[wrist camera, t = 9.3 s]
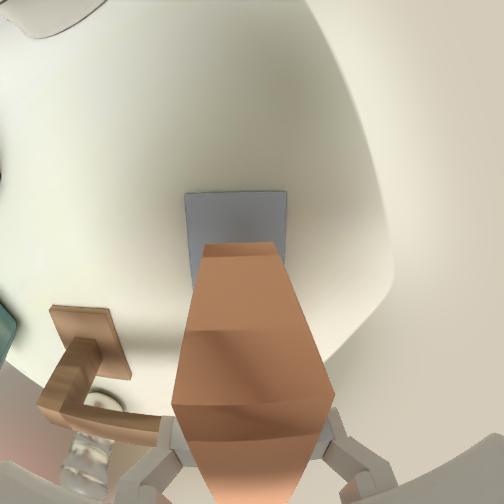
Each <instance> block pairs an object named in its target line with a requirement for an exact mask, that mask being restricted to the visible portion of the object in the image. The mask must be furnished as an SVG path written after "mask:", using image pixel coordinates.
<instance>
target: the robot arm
mask: <svg viewBox="0 0 504 504" xmlns="http://www.w3.org/2000/svg"><path fill="white" fill-rule="evenodd" d="M104 1H105V0H0V14H1V15H2V16H4V17H6V18H7V20H8V21H10V22H12V23H14V24H15V25H16V26H17V27H19V28H20V29H21V30H22V32H23V33H24V34H25V35H26V36H28V37H30V38H35V39H39V38H45V37H49V36H52V35H54V34H57V33H59V32H61V31H63V30H65V29H67V28H69V27H70V26H72V25H74V24H75V23H77V22H78V21H80V20H81V19H83V18H84V17H85V16H87V15H88V14H89V13H91V12H92V11H93V10H95V9H96V8H97V7H98V6H99V5H100V4H102V3H103V2H104ZM321 458H322V459H323V461H325V462H326V463H327V464H328V465H329V466H330V467H331V468H332V469H333V470H334V471H335V472H337V473H338V474H339V475H340V476H341V477H342V478H343V479H344V480H346V481H347V482H348V484H347V485H346V486H345V487H344V488H343V489H342V490H341V491H340V492H339V495H340V499H341V503H342V504H504V436H503V435H500V434H497V433H492V434H490V435H488V436H487V437H485V438H484V439H483V440H481V441H480V442H478V443H477V444H475V445H474V446H472V447H471V448H470V449H468V450H466V451H465V452H463V453H462V454H460V455H458V456H457V457H455V458H453V459H452V460H450V461H448V462H447V463H445V464H443V465H441V466H440V467H438V468H436V469H434V470H432V471H430V472H428V473H426V474H424V475H422V476H420V477H418V478H416V479H414V480H411V481H409V482H407V483H405V484H402V485H400V486H398V484H397V481H396V479H395V476H394V474H393V471H392V468H391V466H390V464H389V462H387V461H386V460H384V459H383V458H381V457H380V456H378V455H377V454H375V453H374V452H372V451H371V450H369V449H368V448H366V447H365V446H363V445H362V444H361V443H359V442H358V441H356V440H355V439H354V438H352V437H351V436H350V437H347V434H346V431H345V429H344V426H343V423H342V420H341V418H340V415H339V412H338V409H337V408H336V407H331V408H330V411H329V413H328V416H327V419H326V421H325V424H324V426H323V429H322V431H321V434H320V436H319V439H318V441H317V444H316V446H315V448H314V451H313V453H312V455H311V457H310V460H314V459H321ZM182 466H188V467H198V466H197V464H196V462H195V460H194V458H193V456H192V453H191V451H190V449H189V447H188V445H187V442H186V440H185V438H184V435H183V433H182V430H181V428H180V426H179V423H178V421H177V418H176V417H175V416H162V418H161V421H160V427H159V432H158V438H157V444H156V448H152V449H150V450H149V451H148V453H146V454H145V455H144V456H143V457H142V458H141V459H140V460H139V461H138V462H137V463H136V464H135V465H134V466H132V467H131V468H130V469H129V470H128V471H127V472H126V473H125V474H124V475H123V476H121V477H120V478H119V481H118V486H117V492H116V496H115V502H114V504H172V503H171V502H170V501H169V500H168V499H167V498H166V497H165V496H164V495H162V492H163V491H164V490H165V489H166V488H167V486H168V485H169V484H170V483H171V481H172V480H173V479H174V478H175V477H176V475H177V474H178V473H179V472H180V470H181V469H182V468H183V467H182ZM0 504H110V503H107V502H103V501H100V500H97V499H94V498H91V497H88V496H85V495H82V494H79V493H77V492H74V491H71V490H69V489H66V488H64V487H62V486H59V485H57V484H55V483H52V482H50V481H48V480H46V479H44V478H42V477H40V476H38V475H36V474H34V473H32V472H30V471H28V470H26V469H24V468H23V467H21V466H19V465H17V464H16V463H14V462H12V461H10V460H3V461H0Z"/></svg>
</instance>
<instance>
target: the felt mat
mask: <svg viewBox="0 0 504 504" xmlns="http://www.w3.org/2000/svg"><path fill="white" fill-rule="evenodd" d="M286 205H287V192H285V191H258V192H214V193H190V194H185V207H186V222H187V234H188V246H189V256H190V266H191V276H192V285H193V292H194V288H195V283H196V279H197V275H198V271H199V267H200V262H201V258H202V254H203V250H204V246H205V244H220V243H255V242H274V244H275V246H276V249H277V251H278V253H279V256H280V258H281V260H282V263H283V265H284V253H285V231H286Z"/></svg>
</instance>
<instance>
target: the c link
mask: <svg viewBox="0 0 504 504" xmlns="http://www.w3.org/2000/svg"><path fill="white" fill-rule="evenodd" d="M334 397H335V393H334V390H333V388H332V385H331V382H330V380H329V377H328V375H327V372H326V370H325V367H324V364H323V362H322V359H321V356H320V354H319V351H318V349H317V346H316V344H315V341H314V339H313V336H312V334H311V331H310V329H309V326H308V324H307V321H306V319H305V316H304V314H303V311H302V309H301V306H300V304H299V301H298V299H297V297H296V294H295V292H294V289H293V287H292V284H291V282H290V280H289V277H288V275H287V272H286V270H285V268H284V265H283V263H282V260H281V258H280V256H279V253H278V251H277V249H276V246H275V244H274V242H255V243H220V244H205V246H204V250H203V254H202V258H201V262H200V267H199V271H198V275H197V279H196V283H195V288H194V292H193V296H192V301H191V305H190V310H189V314H188V319H187V324H186V328H185V333H184V338H183V343H182V348H181V353H180V358H179V363H178V368H177V374H176V379H175V385H174V390H173V396H172V402H171V405H172V408H173V410H174V413H175V415H176V418H177V421H178V423H179V426H180V428H181V430H182V433H183V435H184V438H185V440H186V442H187V445H188V447H189V449H190V451H191V453H192V456H193V458H194V460H195V462H196V464H197V466H198V468H199V470H200V472H201V475H202V476H203V478H204V480H205V482H206V484H207V486H208V488H209V490H210V492H211V494H212V496H213V497H214V499H215V501H216V503H217V504H285V503H288V502H289V500H290V498H291V496H292V494H293V492H294V490H295V489H296V487H297V485H298V482H299V481H300V479H301V476H302V474H303V472H304V470H305V468H306V466H307V464H308V462H309V460H310V457H311V455H312V453H313V451H314V448H315V446H316V444H317V441H318V439H319V436H320V434H321V431H322V429H323V426H324V424H325V421H326V419H327V416H328V413H329V411H330V408H331V405H332V402H333V399H334Z"/></svg>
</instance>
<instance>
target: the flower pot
mask: <svg viewBox="0 0 504 504" xmlns="http://www.w3.org/2000/svg"><path fill="white" fill-rule="evenodd" d="M15 331H16V321H15V320H14V319H13V318H12V316H11V315H10V314H9V313H8V312H7V311H6V310H5V309H4V307H3V306H2V305H1V304H0V369H1V366H2V365H3V363H4V361H5V358H6V355H7V353H8V350H9V348H10V346H11V344H12V341H13V339H14V335H15Z"/></svg>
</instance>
